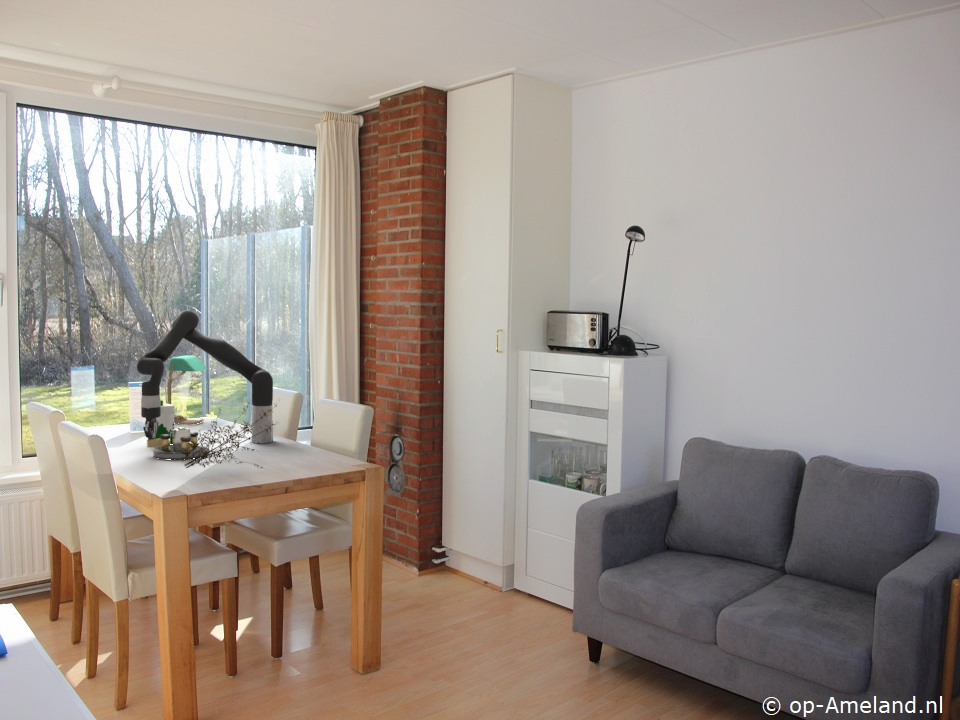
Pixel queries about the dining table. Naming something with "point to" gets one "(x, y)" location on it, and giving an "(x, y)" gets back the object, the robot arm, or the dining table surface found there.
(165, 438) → the knob front
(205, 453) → the dried plant
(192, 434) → the knob near
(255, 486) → the dining table surface
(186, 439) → the knob left
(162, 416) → the milk carton
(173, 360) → the banker's lamp
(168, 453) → the base
